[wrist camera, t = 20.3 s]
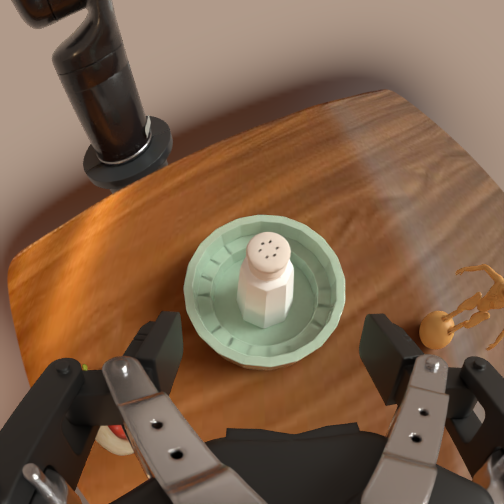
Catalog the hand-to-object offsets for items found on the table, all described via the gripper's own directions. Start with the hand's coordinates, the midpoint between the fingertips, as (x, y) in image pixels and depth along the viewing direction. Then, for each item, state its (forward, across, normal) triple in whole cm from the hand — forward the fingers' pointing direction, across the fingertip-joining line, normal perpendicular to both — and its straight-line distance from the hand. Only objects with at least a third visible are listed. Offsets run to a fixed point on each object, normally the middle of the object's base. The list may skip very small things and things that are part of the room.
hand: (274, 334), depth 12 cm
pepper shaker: (+15, 0, +6) cm, 16 cm away
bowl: (+16, 0, +6) cm, 17 cm away
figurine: (+13, -19, +8) cm, 25 cm away
